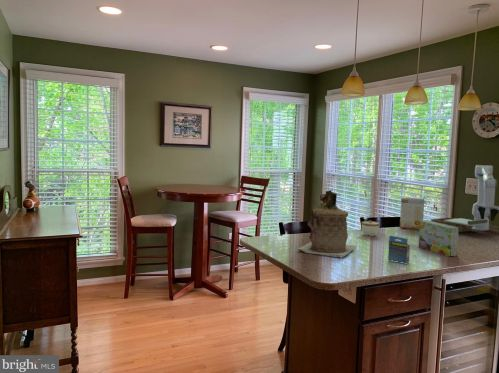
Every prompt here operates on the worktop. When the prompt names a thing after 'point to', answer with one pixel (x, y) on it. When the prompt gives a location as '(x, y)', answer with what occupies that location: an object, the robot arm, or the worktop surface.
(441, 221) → the crate
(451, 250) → the snack box
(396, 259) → the label tape box
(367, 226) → the lidded jar
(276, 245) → the worktop surface
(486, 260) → the worktop surface
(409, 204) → the cracker box
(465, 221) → the lid
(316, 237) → the cookie jar
